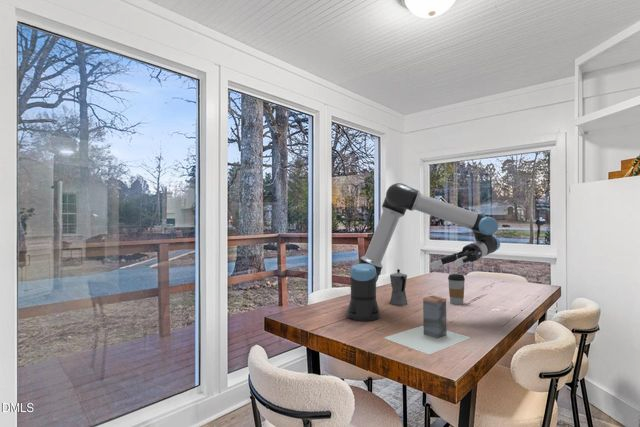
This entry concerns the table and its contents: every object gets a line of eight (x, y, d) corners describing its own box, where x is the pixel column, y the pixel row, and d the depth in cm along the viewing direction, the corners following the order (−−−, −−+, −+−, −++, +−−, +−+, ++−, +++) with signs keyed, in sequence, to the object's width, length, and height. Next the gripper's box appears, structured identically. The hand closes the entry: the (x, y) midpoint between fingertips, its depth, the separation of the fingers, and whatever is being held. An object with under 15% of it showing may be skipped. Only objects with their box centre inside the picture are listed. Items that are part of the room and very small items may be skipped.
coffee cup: (450, 301, 186) (450, 273, 186) (466, 303, 181) (466, 274, 182) (446, 304, 179) (445, 275, 180) (463, 306, 174) (462, 277, 175)
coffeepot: (386, 300, 188) (386, 267, 188) (403, 300, 189) (402, 267, 189) (395, 307, 173) (395, 272, 173) (413, 307, 174) (413, 271, 174)
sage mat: (429, 356, 112) (429, 354, 112) (383, 339, 128) (383, 337, 128) (471, 338, 127) (471, 337, 127) (425, 325, 143) (425, 324, 143)
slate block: (437, 338, 126) (436, 300, 126) (423, 334, 131) (422, 297, 131) (446, 335, 130) (446, 298, 130) (432, 331, 135) (432, 295, 135)
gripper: (502, 256, 143) (472, 271, 132) (454, 262, 164) (424, 275, 153) (496, 239, 143) (465, 252, 132) (449, 247, 164) (419, 259, 154)
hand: (443, 265), depth 143 cm, fingers open, 13 cm apart
